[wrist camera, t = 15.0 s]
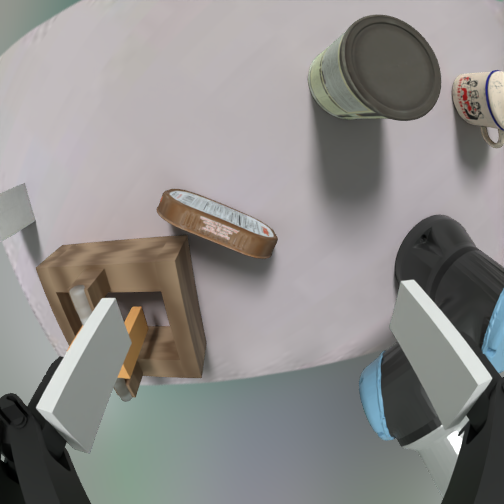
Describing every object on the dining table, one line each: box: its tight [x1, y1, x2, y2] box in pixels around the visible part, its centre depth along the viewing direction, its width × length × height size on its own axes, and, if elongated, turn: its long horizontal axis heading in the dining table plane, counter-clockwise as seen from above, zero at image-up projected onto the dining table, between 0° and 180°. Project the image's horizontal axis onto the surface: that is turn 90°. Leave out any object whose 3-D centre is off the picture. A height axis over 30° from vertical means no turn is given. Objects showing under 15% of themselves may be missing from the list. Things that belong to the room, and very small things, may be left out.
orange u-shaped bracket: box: [67, 307, 149, 379], centre depth 34 cm, size 8×4×10 cm, turn 93°
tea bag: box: [0, 183, 36, 242], centre depth 31 cm, size 4×7×10 cm, turn 9°
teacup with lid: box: [452, 70, 504, 148], centre depth 25 cm, size 12×9×12 cm
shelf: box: [36, 235, 206, 402], centre depth 37 cm, size 22×20×14 cm
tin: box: [157, 189, 278, 259], centre depth 34 cm, size 15×3×8 cm, turn 66°
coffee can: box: [308, 15, 441, 121], centre depth 24 cm, size 10×10×14 cm
